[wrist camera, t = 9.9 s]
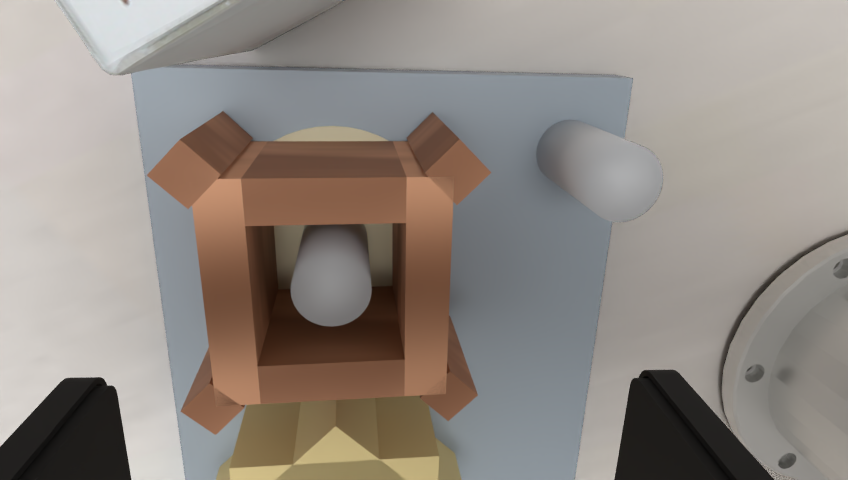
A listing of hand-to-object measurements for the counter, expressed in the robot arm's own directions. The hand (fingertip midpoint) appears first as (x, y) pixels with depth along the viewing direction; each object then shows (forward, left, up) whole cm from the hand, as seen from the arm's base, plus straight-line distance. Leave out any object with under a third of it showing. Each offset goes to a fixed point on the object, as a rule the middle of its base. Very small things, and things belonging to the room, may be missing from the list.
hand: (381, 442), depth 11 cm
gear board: (-1, +4, -12) cm, 13 cm away
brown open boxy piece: (+1, 0, -10) cm, 10 cm away
